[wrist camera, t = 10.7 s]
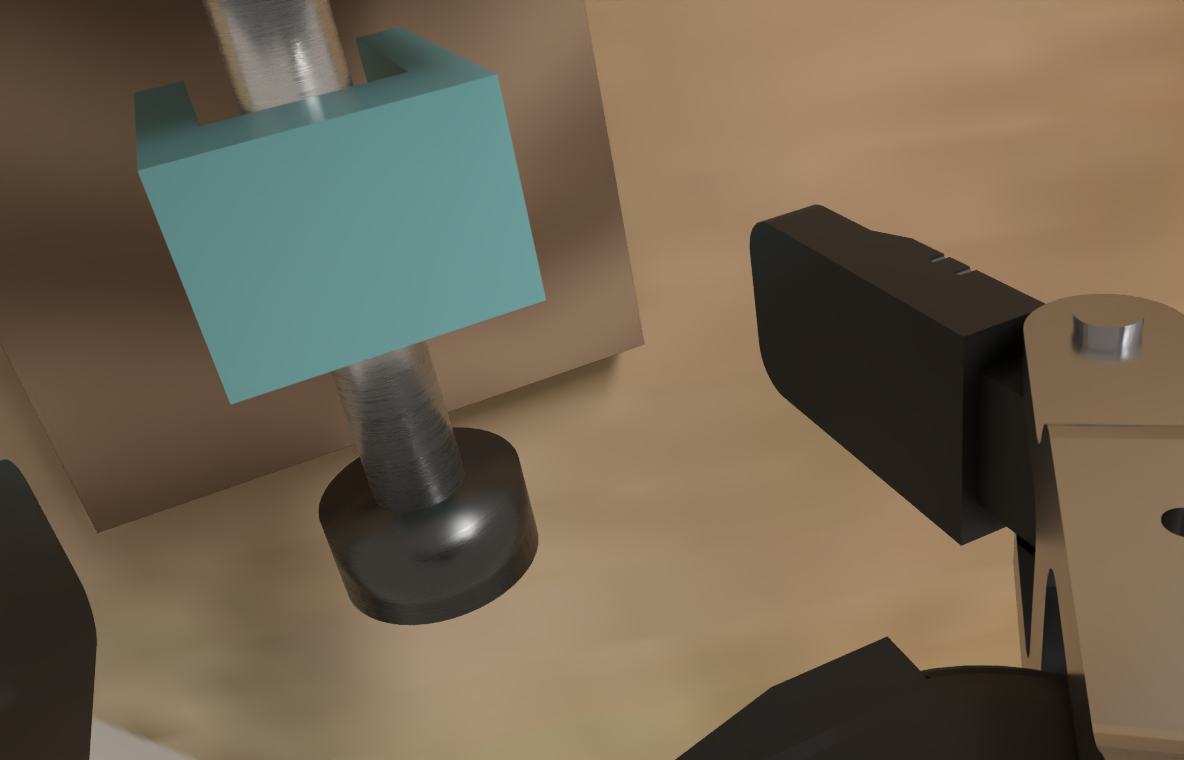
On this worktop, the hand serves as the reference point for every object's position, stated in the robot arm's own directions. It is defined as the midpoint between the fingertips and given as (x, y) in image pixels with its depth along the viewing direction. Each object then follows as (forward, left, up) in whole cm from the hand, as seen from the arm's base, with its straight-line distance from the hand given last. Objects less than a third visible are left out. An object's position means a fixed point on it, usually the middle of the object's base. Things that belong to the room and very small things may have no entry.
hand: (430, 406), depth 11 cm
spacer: (0, 0, -13) cm, 13 cm away
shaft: (+1, 0, -12) cm, 12 cm away
